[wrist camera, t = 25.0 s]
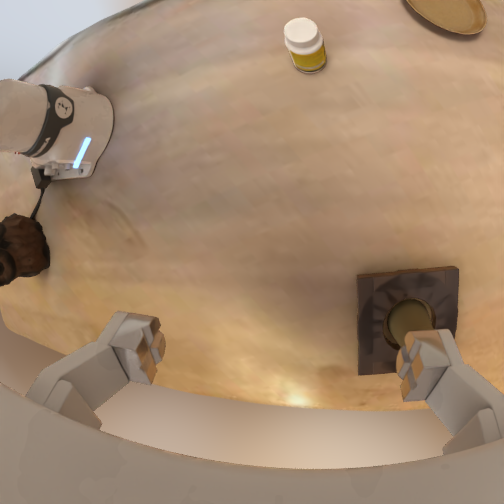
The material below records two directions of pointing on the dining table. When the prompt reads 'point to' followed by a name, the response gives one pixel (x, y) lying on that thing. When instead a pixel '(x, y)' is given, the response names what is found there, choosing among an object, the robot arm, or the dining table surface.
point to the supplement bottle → (305, 45)
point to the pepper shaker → (408, 319)
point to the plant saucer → (453, 14)
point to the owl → (21, 248)
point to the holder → (390, 293)
